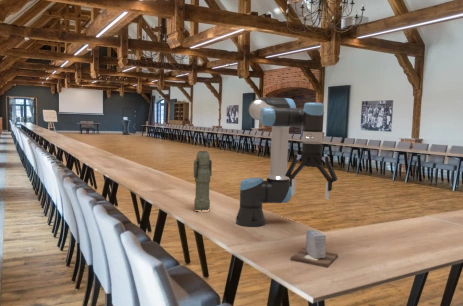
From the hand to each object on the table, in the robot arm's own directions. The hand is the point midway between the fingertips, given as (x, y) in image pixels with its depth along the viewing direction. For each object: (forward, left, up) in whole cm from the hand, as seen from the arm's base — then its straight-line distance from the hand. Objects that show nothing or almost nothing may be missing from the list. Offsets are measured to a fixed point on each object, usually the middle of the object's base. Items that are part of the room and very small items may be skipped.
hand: (309, 197), depth 155 cm
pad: (+4, +4, -23) cm, 23 cm away
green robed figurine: (-42, -79, -23) cm, 92 cm away
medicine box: (+4, +4, -21) cm, 22 cm away
